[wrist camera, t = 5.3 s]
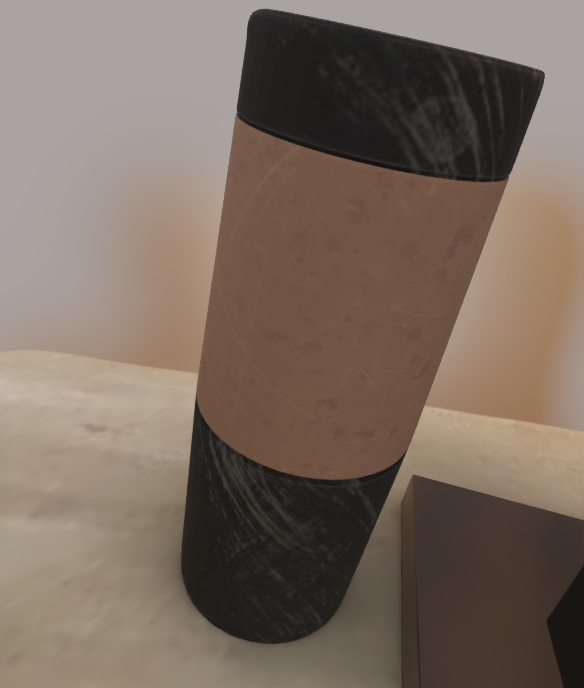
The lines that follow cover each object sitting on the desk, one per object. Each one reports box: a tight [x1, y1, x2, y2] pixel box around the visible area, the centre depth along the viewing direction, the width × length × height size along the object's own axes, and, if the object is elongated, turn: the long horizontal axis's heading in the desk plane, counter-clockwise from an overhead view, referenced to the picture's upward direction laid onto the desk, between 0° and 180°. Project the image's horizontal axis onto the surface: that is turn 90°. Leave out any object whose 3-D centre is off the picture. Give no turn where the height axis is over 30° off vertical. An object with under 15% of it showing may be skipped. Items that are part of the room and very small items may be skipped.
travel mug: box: [181, 9, 545, 643], centre depth 19 cm, size 8×8×20 cm
